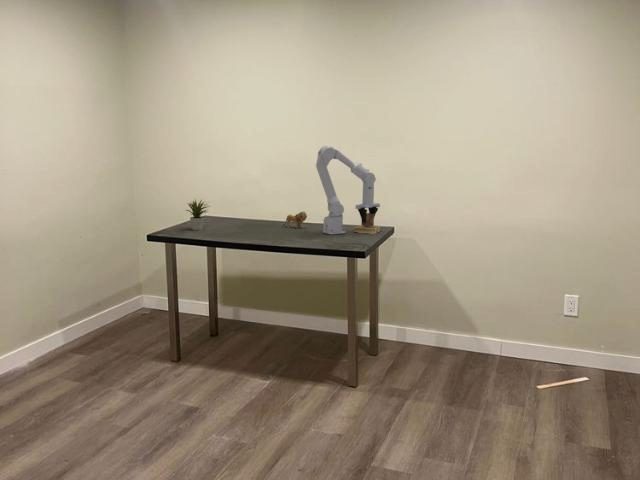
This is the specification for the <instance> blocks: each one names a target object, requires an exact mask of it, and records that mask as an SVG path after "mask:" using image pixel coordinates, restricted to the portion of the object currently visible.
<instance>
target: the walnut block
mask: <svg viewBox="0 0 640 480" xmlns="http://www.w3.org/2000/svg"><path fill="white" fill-rule="evenodd" d="M374 219H375V217H374V214H371V213H369V212H367V213H366V222H365V223H364V222H362V221H361V224H360V225H363V226H375V224H374V223H375V222H374Z"/></svg>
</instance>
